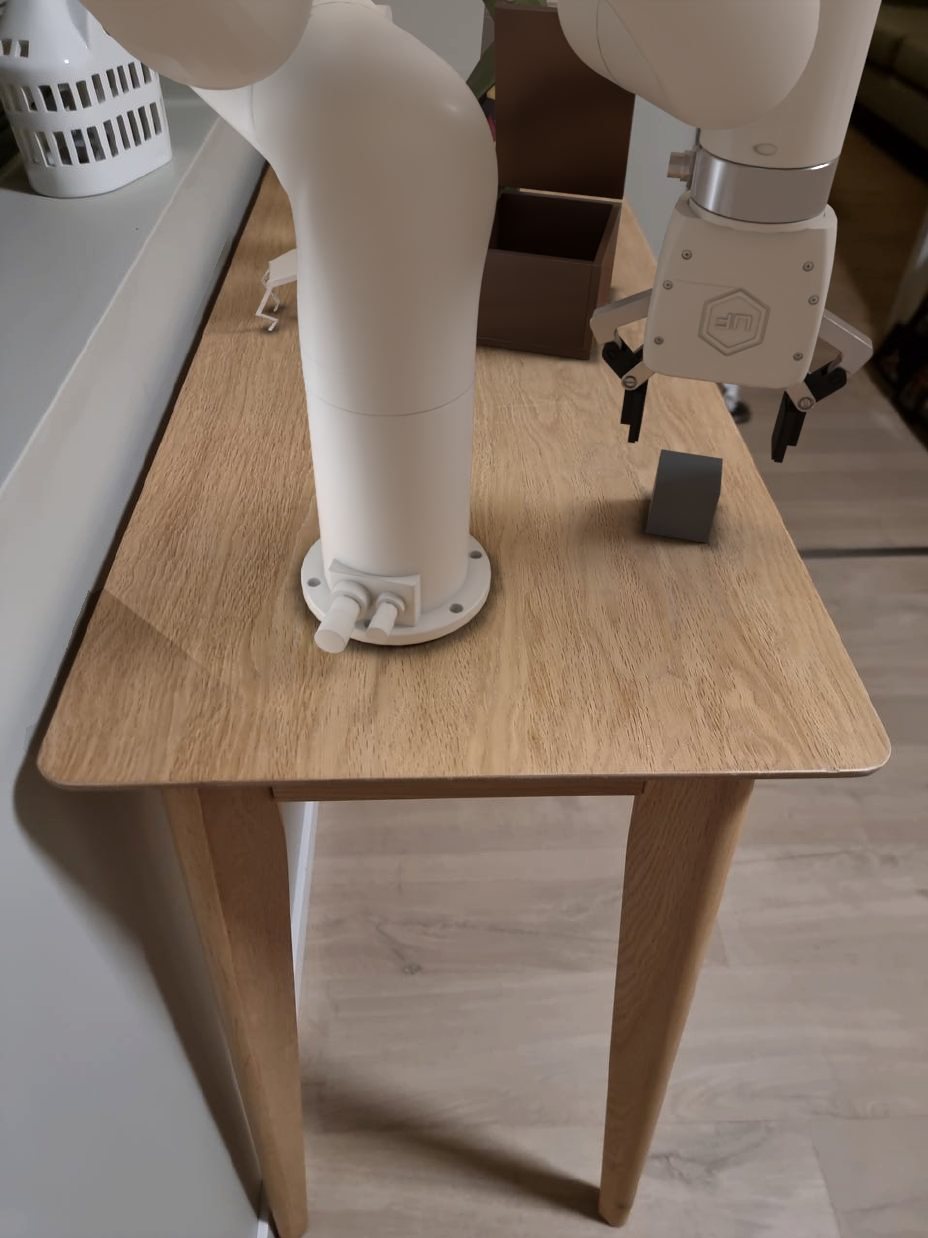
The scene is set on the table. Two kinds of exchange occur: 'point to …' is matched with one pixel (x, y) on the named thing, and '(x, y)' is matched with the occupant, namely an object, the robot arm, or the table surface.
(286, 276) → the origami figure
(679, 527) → the block
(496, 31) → the lid
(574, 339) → the chest
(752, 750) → the table surface
